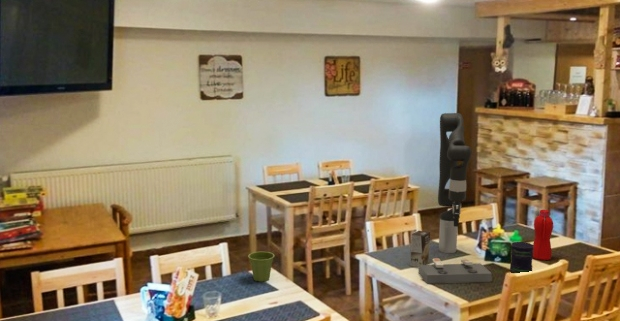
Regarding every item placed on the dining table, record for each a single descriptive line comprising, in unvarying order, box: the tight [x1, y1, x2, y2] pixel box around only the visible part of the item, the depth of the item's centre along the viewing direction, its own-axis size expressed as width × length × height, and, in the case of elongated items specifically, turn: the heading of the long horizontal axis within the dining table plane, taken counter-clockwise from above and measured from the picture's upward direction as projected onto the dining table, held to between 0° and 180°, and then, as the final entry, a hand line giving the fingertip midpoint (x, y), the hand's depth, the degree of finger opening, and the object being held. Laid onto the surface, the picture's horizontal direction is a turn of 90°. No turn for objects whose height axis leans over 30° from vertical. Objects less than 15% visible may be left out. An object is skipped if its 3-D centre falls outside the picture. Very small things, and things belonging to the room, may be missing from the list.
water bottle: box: [532, 209, 554, 261], centre depth 308 cm, size 9×11×25 cm
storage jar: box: [509, 241, 534, 273], centre depth 283 cm, size 10×10×15 cm
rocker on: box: [460, 258, 474, 265], centre depth 285 cm, size 7×3×1 cm, turn 6°
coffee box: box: [409, 230, 431, 268], centre depth 298 cm, size 9×6×16 cm
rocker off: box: [432, 258, 444, 268], centre depth 283 cm, size 7×3×1 cm, turn 6°
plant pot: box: [247, 251, 275, 282], centre depth 276 cm, size 12×12×11 cm
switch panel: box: [418, 262, 493, 285], centre depth 281 cm, size 14×30×4 cm, turn 96°
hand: (455, 223), depth 278 cm, fingers open, 8 cm apart
